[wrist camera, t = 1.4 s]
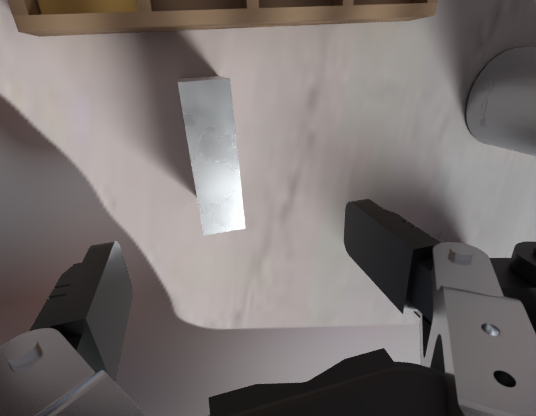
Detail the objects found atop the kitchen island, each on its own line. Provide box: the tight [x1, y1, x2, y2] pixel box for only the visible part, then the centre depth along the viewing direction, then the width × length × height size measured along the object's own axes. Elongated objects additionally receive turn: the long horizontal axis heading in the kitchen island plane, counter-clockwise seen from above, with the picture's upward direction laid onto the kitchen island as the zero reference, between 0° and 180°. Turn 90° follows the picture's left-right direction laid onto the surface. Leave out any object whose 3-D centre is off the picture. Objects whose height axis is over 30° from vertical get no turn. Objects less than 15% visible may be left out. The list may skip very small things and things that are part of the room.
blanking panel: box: [177, 76, 245, 235], centre depth 23 cm, size 3×10×7 cm, turn 4°
